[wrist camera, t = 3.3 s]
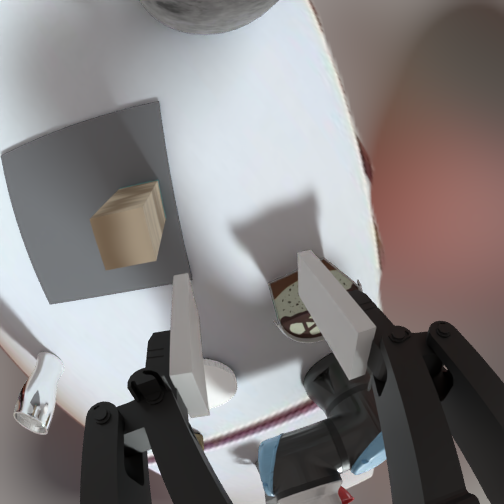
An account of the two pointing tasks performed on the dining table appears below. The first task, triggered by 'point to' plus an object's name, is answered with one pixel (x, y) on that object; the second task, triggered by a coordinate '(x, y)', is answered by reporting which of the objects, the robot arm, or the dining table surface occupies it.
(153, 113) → the mat
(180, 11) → the vase
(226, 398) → the plastic lid
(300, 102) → the dining table surface
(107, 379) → the dining table surface
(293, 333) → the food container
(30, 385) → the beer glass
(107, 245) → the maple block
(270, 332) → the dining table surface
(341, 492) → the mixing bowl
